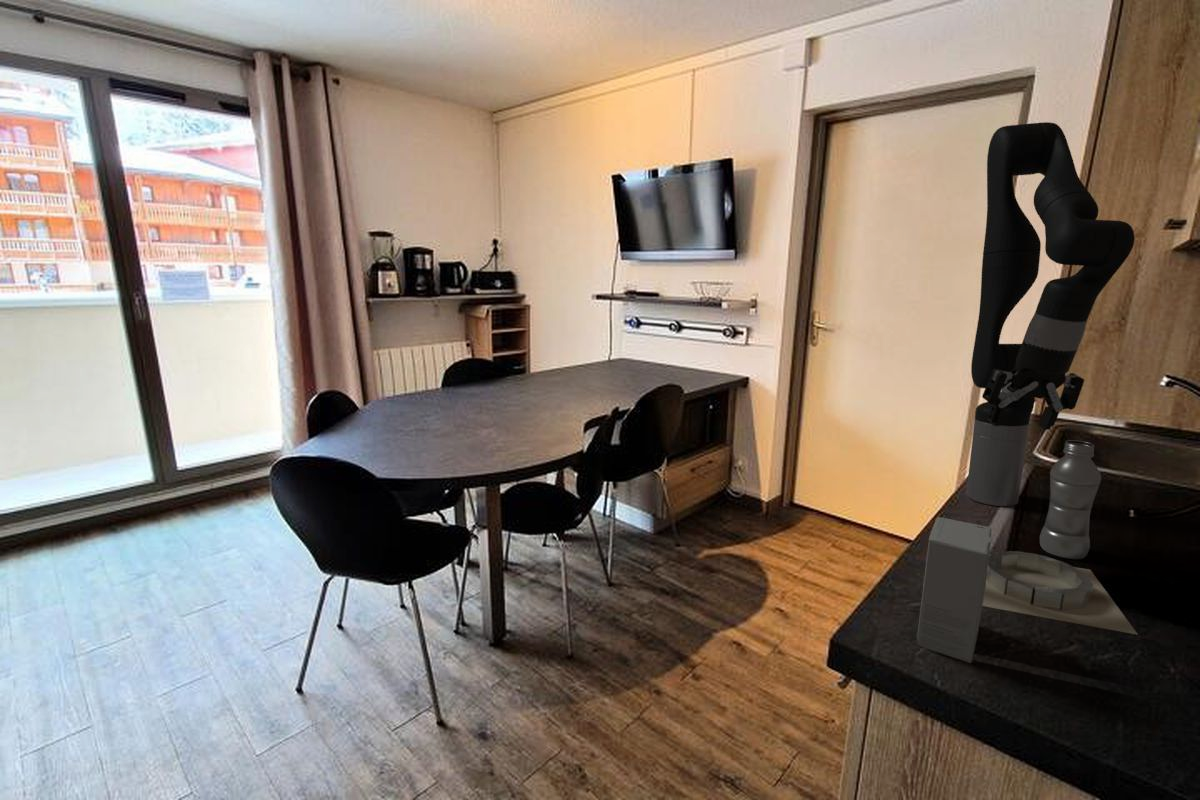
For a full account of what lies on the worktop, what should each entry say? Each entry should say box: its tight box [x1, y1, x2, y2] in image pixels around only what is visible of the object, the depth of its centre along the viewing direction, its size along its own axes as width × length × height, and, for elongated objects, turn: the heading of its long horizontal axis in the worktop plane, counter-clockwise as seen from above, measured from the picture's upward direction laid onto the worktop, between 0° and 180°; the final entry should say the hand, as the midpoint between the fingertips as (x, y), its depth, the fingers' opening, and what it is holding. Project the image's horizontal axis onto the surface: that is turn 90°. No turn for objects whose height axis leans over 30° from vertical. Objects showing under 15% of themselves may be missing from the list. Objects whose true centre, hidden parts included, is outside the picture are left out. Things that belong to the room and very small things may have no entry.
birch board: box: [982, 553, 1139, 636], centre depth 84 cm, size 18×18×1 cm
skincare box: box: [915, 516, 993, 664], centre depth 72 cm, size 8×7×16 cm
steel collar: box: [986, 550, 1093, 610], centre depth 84 cm, size 12×12×2 cm
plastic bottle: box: [1039, 439, 1102, 560], centre depth 92 cm, size 6×7×20 cm
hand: (1018, 426), depth 101 cm, fingers open, 8 cm apart
